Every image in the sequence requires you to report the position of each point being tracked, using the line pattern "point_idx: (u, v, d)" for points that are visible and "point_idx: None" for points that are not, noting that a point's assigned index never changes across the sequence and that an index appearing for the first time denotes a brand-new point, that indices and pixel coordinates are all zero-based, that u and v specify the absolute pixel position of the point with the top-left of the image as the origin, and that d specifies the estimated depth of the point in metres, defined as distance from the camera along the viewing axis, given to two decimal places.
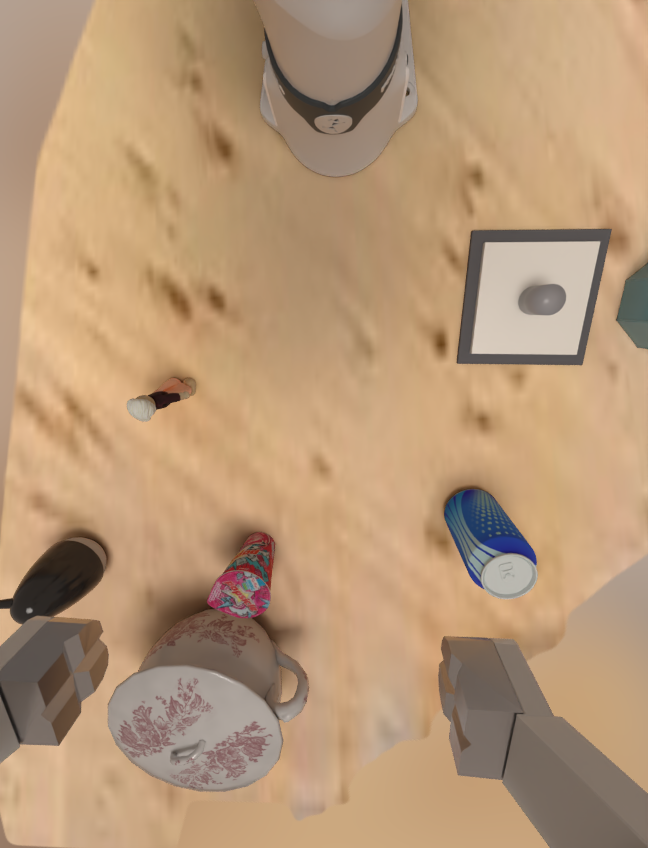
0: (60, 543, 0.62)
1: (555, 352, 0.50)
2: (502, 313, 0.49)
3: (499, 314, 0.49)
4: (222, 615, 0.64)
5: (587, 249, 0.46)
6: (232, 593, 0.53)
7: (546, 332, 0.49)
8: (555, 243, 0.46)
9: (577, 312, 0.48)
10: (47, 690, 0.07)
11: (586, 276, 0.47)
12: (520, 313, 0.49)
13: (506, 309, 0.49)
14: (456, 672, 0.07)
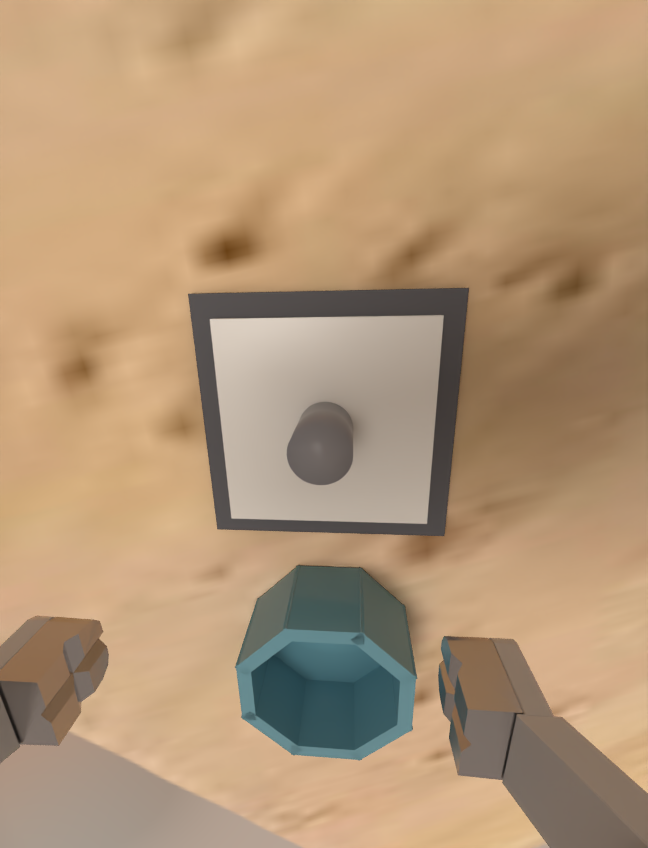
0: None
1: (231, 483, 0.26)
2: (299, 374, 0.23)
3: (296, 367, 0.23)
4: None
5: (414, 506, 0.25)
6: None
7: (266, 462, 0.25)
8: (429, 452, 0.24)
9: (306, 508, 0.26)
10: (47, 690, 0.07)
11: (368, 512, 0.26)
12: (300, 409, 0.24)
13: (306, 380, 0.23)
14: (456, 672, 0.07)
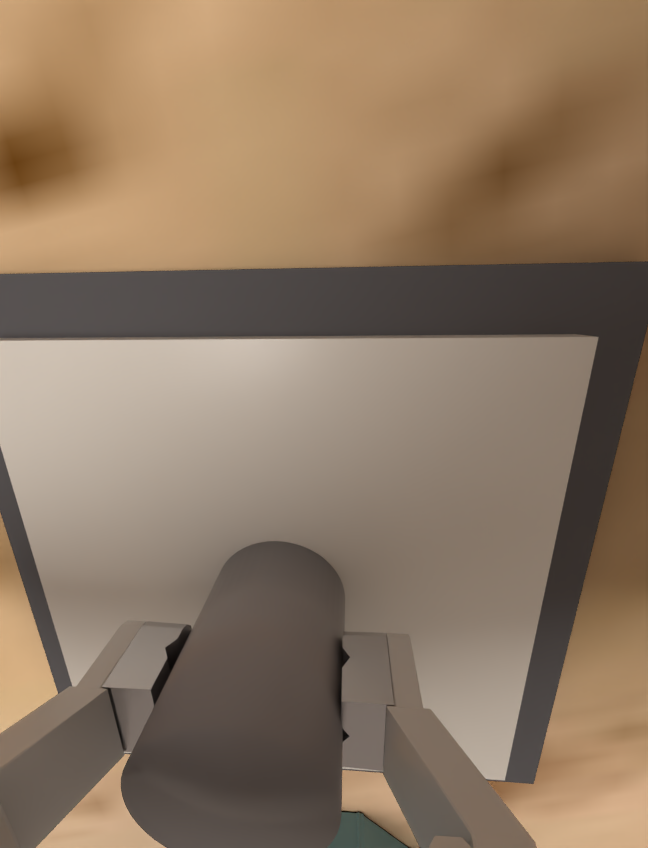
0: None
1: None
2: (209, 478, 0.09)
3: (201, 463, 0.09)
4: None
5: (480, 749, 0.11)
6: None
7: None
8: (524, 653, 0.10)
9: None
10: (156, 696, 0.07)
11: None
12: (218, 555, 0.10)
13: (229, 493, 0.09)
14: None
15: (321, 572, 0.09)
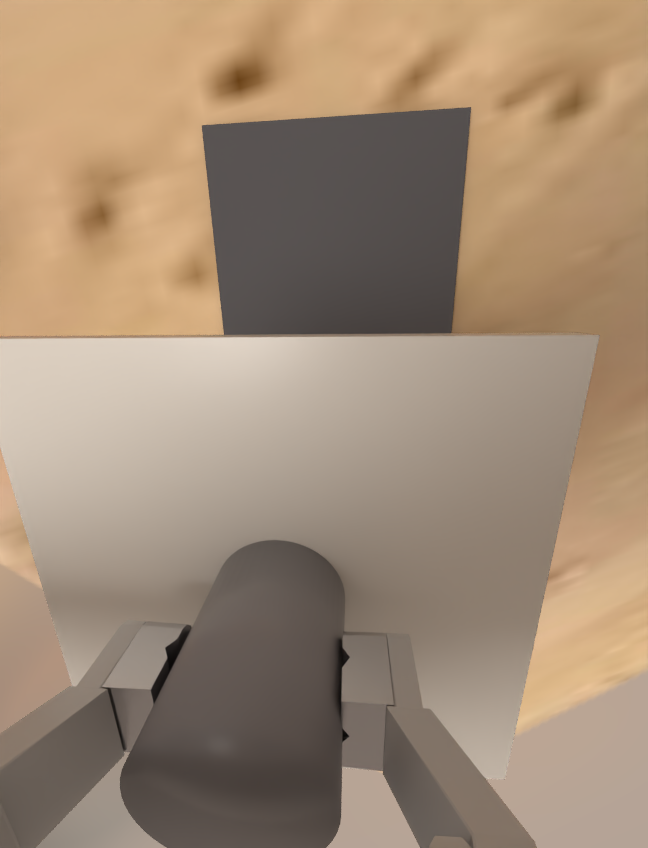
0: None
1: None
2: (209, 477, 0.09)
3: (201, 462, 0.09)
4: None
5: (480, 749, 0.11)
6: None
7: None
8: (524, 653, 0.10)
9: None
10: (157, 696, 0.07)
11: None
12: (217, 554, 0.10)
13: (229, 492, 0.09)
14: None
15: (321, 571, 0.09)
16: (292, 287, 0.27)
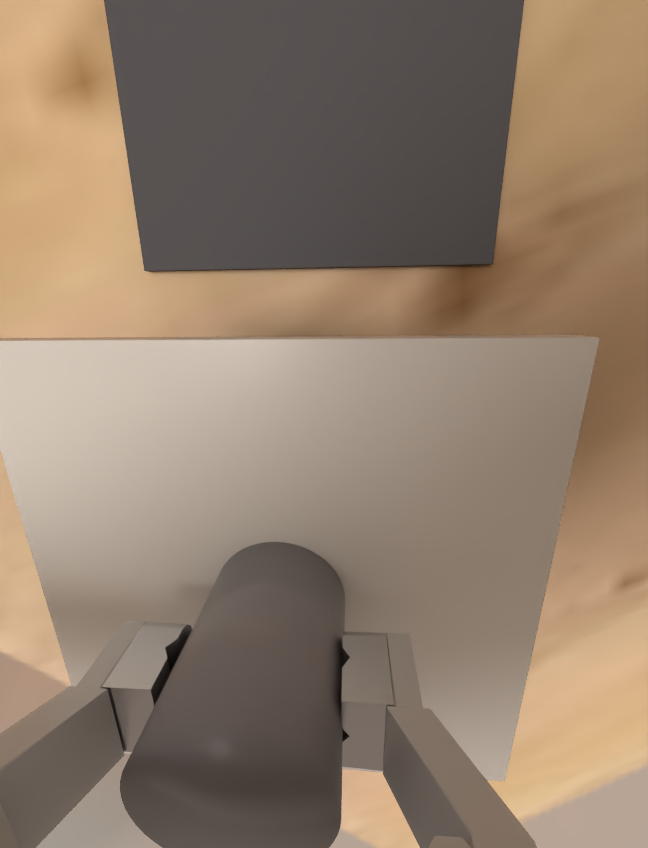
0: None
1: None
2: (209, 479, 0.09)
3: (201, 464, 0.09)
4: None
5: (480, 750, 0.11)
6: None
7: None
8: (524, 654, 0.10)
9: None
10: (156, 697, 0.07)
11: None
12: (217, 556, 0.10)
13: (229, 494, 0.09)
14: None
15: (321, 573, 0.09)
16: (240, 94, 0.16)
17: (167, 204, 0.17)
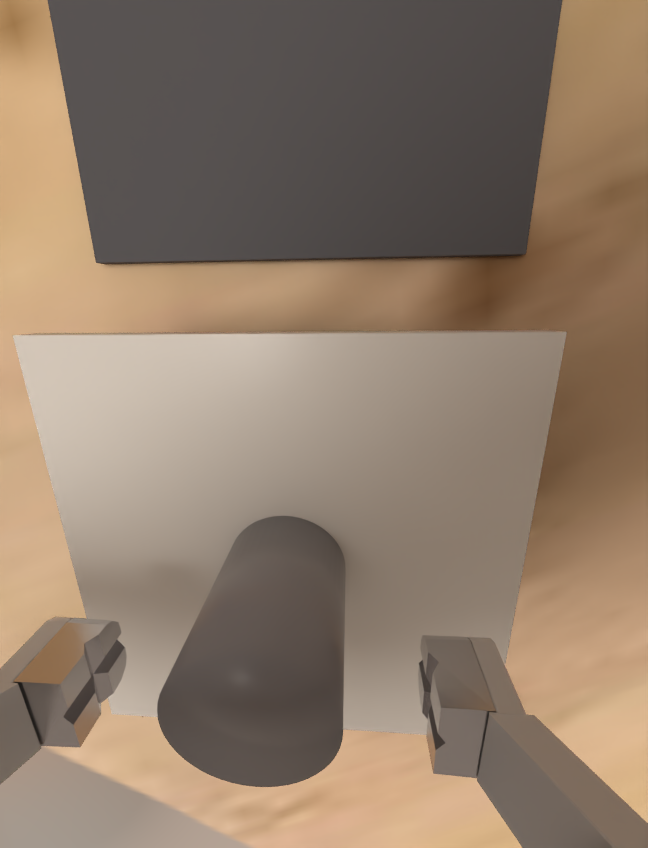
0: None
1: None
2: (224, 458, 0.10)
3: (217, 445, 0.10)
4: None
5: None
6: None
7: (170, 624, 0.12)
8: (507, 618, 0.11)
9: None
10: (69, 691, 0.07)
11: (376, 715, 0.13)
12: (231, 529, 0.11)
13: (242, 472, 0.10)
14: (433, 671, 0.07)
15: (324, 542, 0.10)
16: (208, 37, 0.12)
17: (121, 179, 0.14)
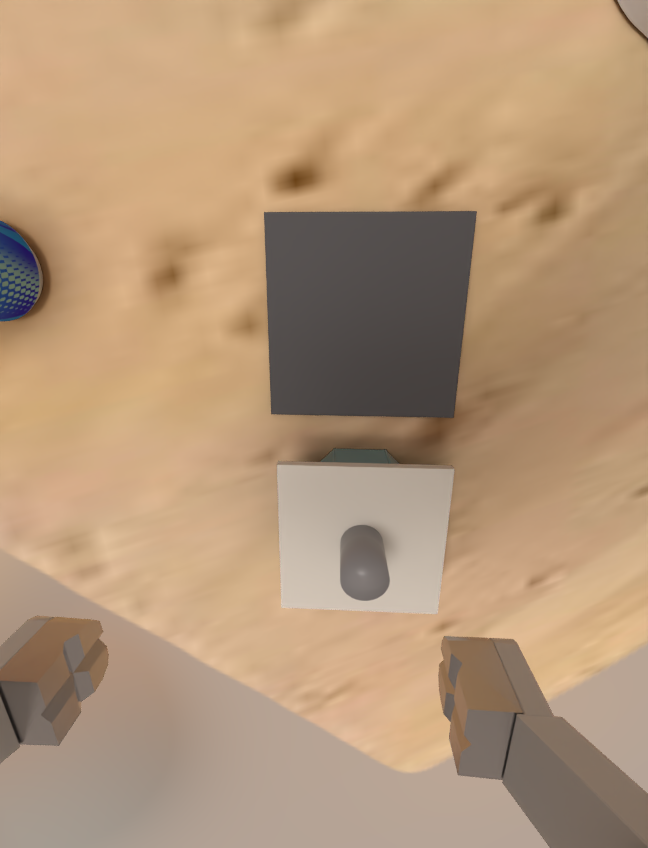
0: None
1: (283, 581, 0.32)
2: (343, 505, 0.30)
3: (341, 500, 0.30)
4: None
5: (428, 601, 0.32)
6: None
7: (313, 566, 0.32)
8: (441, 562, 0.31)
9: (342, 600, 0.33)
10: (46, 690, 0.07)
11: (392, 604, 0.33)
12: (342, 529, 0.31)
13: (349, 509, 0.30)
14: (456, 672, 0.07)
15: (377, 534, 0.30)
16: (330, 339, 0.32)
17: (287, 384, 0.34)
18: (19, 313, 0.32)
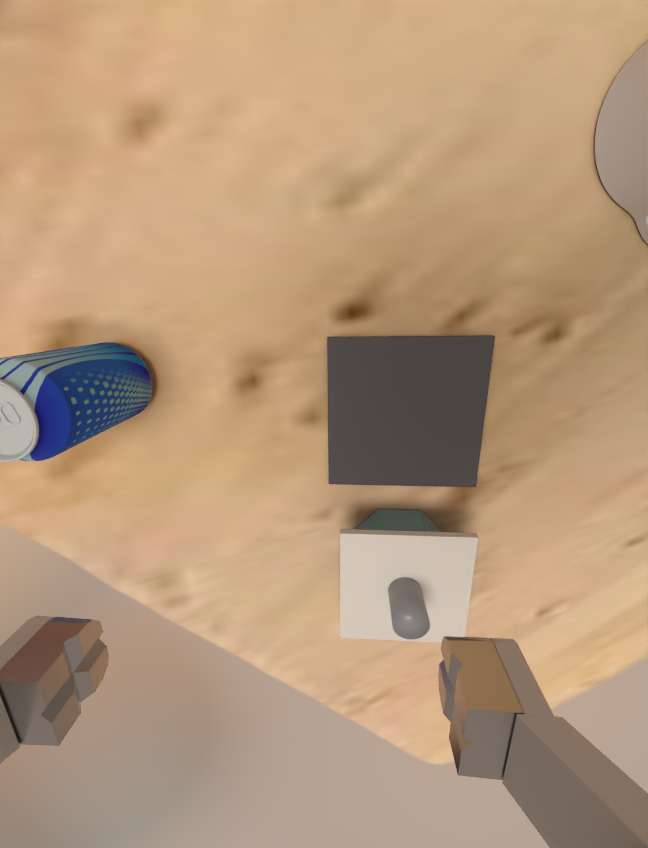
0: None
1: (342, 618, 0.42)
2: (391, 562, 0.39)
3: (389, 559, 0.39)
4: None
5: (456, 633, 0.41)
6: None
7: (366, 607, 0.41)
8: (467, 605, 0.40)
9: (388, 632, 0.42)
10: (47, 689, 0.07)
11: (427, 636, 0.41)
12: (389, 580, 0.40)
13: (395, 566, 0.39)
14: (456, 672, 0.07)
15: (417, 585, 0.39)
16: (377, 428, 0.41)
17: (342, 461, 0.42)
18: (136, 413, 0.41)
